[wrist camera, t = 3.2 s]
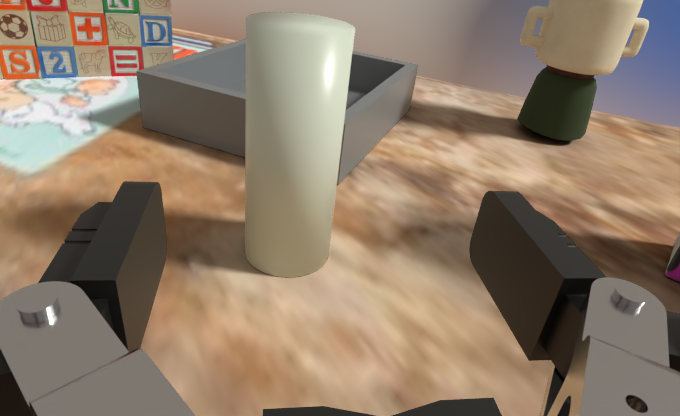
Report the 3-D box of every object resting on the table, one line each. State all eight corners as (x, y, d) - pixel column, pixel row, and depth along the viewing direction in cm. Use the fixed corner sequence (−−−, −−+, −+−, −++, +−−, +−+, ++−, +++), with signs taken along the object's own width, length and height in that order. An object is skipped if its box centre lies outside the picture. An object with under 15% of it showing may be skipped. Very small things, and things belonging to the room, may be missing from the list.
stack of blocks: (-81, 84, 41) (-140, -82, 35) (-68, 63, 46) (-118, -87, 39) (176, 75, 51) (167, -57, 44) (165, 59, 55) (155, -63, 49)
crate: (142, 127, 38) (136, 71, 36) (264, 74, 54) (265, 32, 51) (338, 184, 34) (345, 124, 31) (409, 109, 49) (418, 64, 47)
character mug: (584, 125, 51) (637, -8, 44) (619, 153, 44) (686, 4, 38) (484, 115, 50) (522, -22, 43) (504, 142, 44) (552, -12, 37)
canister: (228, 259, 25) (223, 20, 19) (271, 219, 29) (279, 7, 23) (306, 288, 24) (328, 42, 18) (341, 242, 28) (370, 25, 22)
